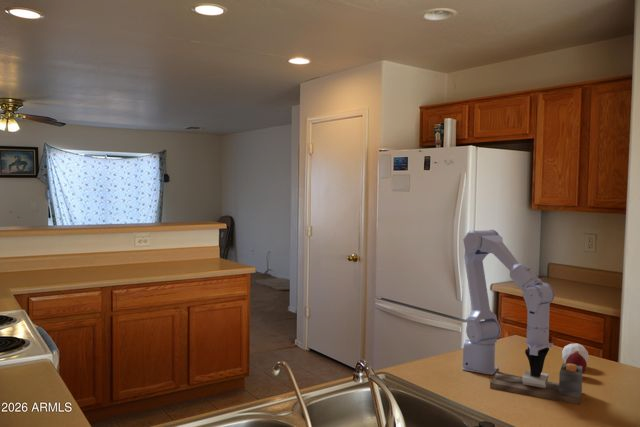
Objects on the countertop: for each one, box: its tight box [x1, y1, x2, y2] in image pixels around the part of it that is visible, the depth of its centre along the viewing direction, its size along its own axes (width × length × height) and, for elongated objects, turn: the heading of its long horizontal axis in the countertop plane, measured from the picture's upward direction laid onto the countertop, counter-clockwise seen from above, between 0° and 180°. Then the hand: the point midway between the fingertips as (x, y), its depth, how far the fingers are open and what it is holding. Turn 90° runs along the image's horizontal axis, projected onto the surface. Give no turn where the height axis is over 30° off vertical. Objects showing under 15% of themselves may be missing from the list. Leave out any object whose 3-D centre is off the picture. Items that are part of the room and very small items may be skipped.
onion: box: [565, 350, 588, 374], centre depth 163 cm, size 6×6×8 cm
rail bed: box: [489, 362, 583, 405], centre depth 151 cm, size 23×10×8 cm, turn 60°
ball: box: [561, 342, 589, 364], centre depth 173 cm, size 8×8×8 cm
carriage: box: [521, 369, 549, 388], centre depth 151 cm, size 6×7×6 cm
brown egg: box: [565, 363, 577, 372], centre depth 147 cm, size 3×3×4 cm
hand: (536, 374), depth 151 cm, fingers closed on carriage, 2 cm apart
